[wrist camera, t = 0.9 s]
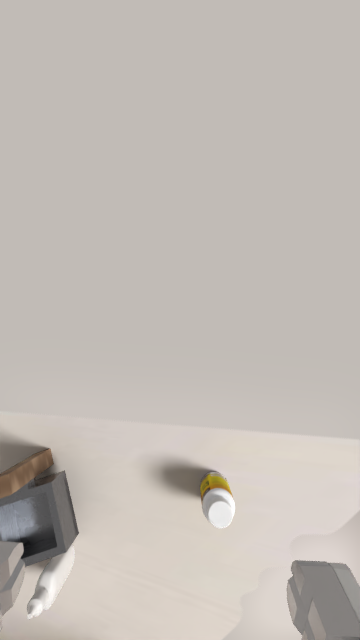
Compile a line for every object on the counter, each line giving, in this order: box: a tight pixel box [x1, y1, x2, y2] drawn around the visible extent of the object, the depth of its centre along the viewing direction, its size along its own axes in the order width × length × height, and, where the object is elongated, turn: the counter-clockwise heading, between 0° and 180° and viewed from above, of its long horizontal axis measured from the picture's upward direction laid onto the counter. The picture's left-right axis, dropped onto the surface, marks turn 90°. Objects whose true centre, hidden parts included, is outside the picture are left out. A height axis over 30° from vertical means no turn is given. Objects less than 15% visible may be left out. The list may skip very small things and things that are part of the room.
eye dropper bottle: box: [27, 544, 75, 619], centre depth 45 cm, size 4×6×12 cm
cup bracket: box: [0, 449, 79, 567], centre depth 46 cm, size 15×11×13 cm
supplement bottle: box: [200, 472, 235, 528], centre depth 47 cm, size 6×6×10 cm
